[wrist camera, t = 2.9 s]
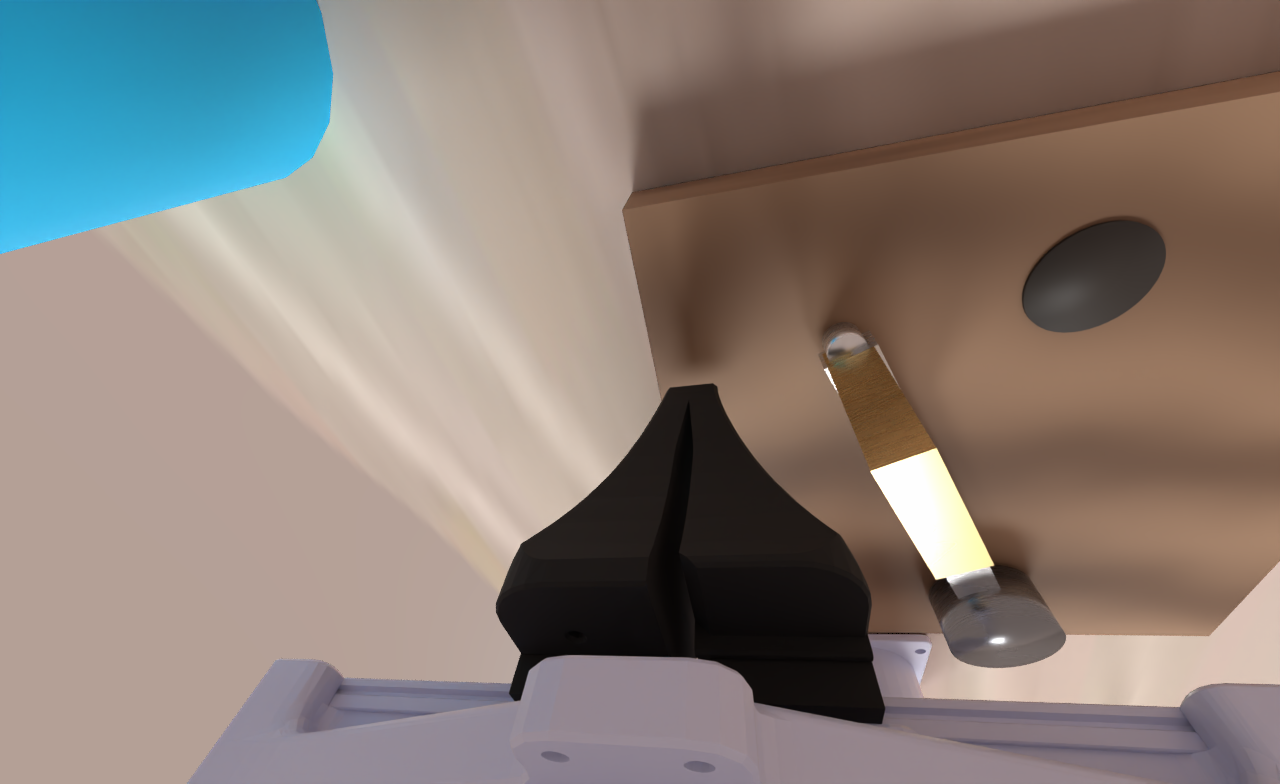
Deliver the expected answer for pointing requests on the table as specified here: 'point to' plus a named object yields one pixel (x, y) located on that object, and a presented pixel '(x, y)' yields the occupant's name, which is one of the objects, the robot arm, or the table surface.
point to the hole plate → (1012, 343)
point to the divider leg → (937, 515)
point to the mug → (151, 106)
